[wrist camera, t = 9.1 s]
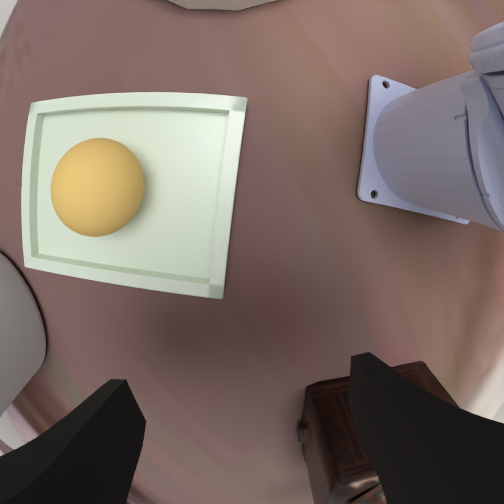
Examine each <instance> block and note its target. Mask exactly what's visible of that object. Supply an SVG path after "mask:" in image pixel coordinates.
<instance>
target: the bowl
mask: <svg viewBox="0 0 504 504" xmlns="http://www.w3.org/2000/svg"><path fill="white" fill-rule="evenodd" d="M168 1H170V2H173V3H175V4H177V5H179V6H182V7H184V8H186V9H218V10H235V11H239V10H243V9H246V8H249V7H253V6H257V5H261V4H264V3H268V2H273V1H277V0H168Z"/></svg>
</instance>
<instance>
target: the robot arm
mask: <svg viewBox="0 0 504 504" xmlns="http://www.w3.org/2000/svg"><path fill="white" fill-rule="evenodd" d="M468 59H469V61H470V63H471V65H472V66H473V68H474V69H473V70H470V71H467V72H464V73H461V74H458V75H455V76H452V77H449V78H446V79H444V80H441V81H438V82H435V83H433V84H430V85H427V86H425V87H422V88H420V89H415V88H412V87H410V86H407V85H405V84H402V83H399V82H397V81H394V80H391V79H388V78H385V77H382V76H379V75H374V76H372V77H371V78H370V80H369V92H368V105H367V117H366V127H365V136H364V145H363V153H362V161H361V168H360V175H359V182H358V189H357V195H358V197H359V198H360V200H363V201H366V202H371V203H376V204H381V205H386V206H391V207H395V208H400V209H404V210H409V211H413V212H418V213H422V214H426V215H430V216H435V217H439V218H443V219H447V220H451V221H454V222H458V223H462V224H468V223H469V222H470V221H472V222H475V223H478V224H481V225H484V226H487V227H490V228H493V229H496V230H499V231H502V232H504V21H503V22H501V23H499V24H496V25H494V26H492V27H490V28H488V29H486V30H484V31H482V32H480V33H478V34H476V35H474V36H473V37H472V40H471V51H470V52H469V53H468ZM382 82H384V83H385V84H386V85H387V88H384V87H383V85H382ZM373 190H374V191H375V197H374V198H371V196H370V193H371V191H373ZM348 403H349V407H350V410H351V414H352V417H353V420H354V423H355V427H356V429H357V431H358V434H359V436H360V438H361V440H362V442H363V445H364V447H365V449H366V451H367V453H368V456H369V458H370V460H371V462H372V465H373V467H374V469H375V471H376V473H377V476H378V478H379V481H380V483H381V486H382V489H383V492H384V496H385V499H386V503H387V504H504V423H500V422H497V421H494V420H490V419H487V418H484V417H481V416H478V415H475V414H473V413H470V412H468V411H465V410H463V409H461V408H458V407H456V406H454V405H452V404H450V403H448V402H446V401H444V400H442V399H440V398H438V397H437V396H435V395H433V394H431V393H429V392H428V391H426V390H424V389H423V388H421V387H419V386H418V385H416V384H415V383H413V382H412V381H410V380H408V379H407V378H405V377H404V376H403V375H401V374H400V373H398V372H397V371H395V370H394V369H392V368H391V367H390V366H388V365H387V364H385V363H384V362H383V361H381V360H380V359H378V358H377V357H376V356H374V355H373V354H371V353H370V352H368V353H364V354H359V355H355V356H351V369H350V384H349V396H348ZM145 426H146V420H145V418H144V416H143V414H142V412H141V410H140V408H139V406H138V404H137V402H136V400H135V398H134V396H133V394H132V391H131V389H130V387H129V385H128V383H127V380H121V379H111V380H109V381H108V382H106V383H105V384H104V385H102V386H101V387H100V388H99V389H98V390H96V391H95V392H94V393H93V394H92V395H90V396H89V397H88V398H87V399H86V400H84V401H83V402H82V403H81V404H80V405H79V406H77V407H76V408H75V409H74V410H73V411H71V412H70V413H69V414H68V415H67V416H65V417H64V418H63V419H61V420H60V421H59V422H57V423H56V424H55V425H53V426H52V427H51V428H49V429H48V430H47V431H45V432H44V433H42V434H41V435H40V436H38V437H36V438H35V439H33V440H32V441H30V442H28V443H27V444H25V445H23V446H21V447H19V448H17V449H15V450H13V451H11V452H9V453H7V454H5V455H2V456H0V504H126V502H127V497H128V493H129V490H130V486H131V483H132V480H133V476H134V473H135V470H136V466H137V463H138V460H139V456H140V453H141V449H142V446H143V440H144V433H145Z"/></svg>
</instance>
